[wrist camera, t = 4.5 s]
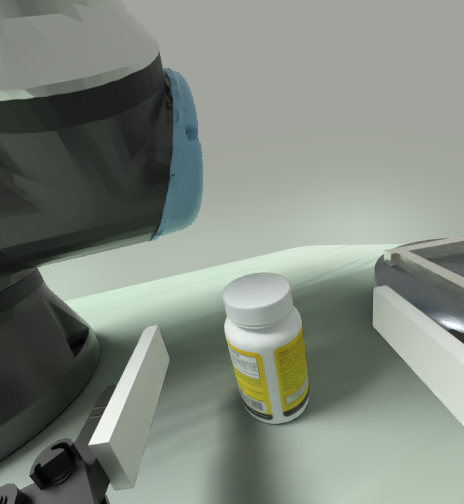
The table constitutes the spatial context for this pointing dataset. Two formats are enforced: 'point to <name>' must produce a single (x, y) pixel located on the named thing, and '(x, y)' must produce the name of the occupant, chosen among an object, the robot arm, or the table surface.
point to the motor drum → (428, 278)
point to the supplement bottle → (266, 347)
